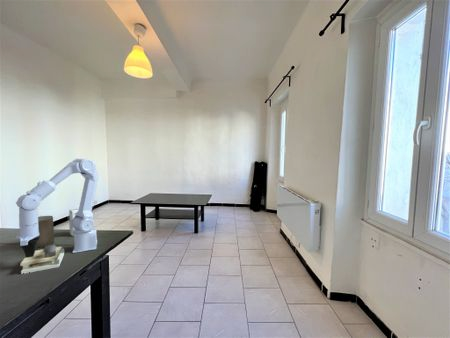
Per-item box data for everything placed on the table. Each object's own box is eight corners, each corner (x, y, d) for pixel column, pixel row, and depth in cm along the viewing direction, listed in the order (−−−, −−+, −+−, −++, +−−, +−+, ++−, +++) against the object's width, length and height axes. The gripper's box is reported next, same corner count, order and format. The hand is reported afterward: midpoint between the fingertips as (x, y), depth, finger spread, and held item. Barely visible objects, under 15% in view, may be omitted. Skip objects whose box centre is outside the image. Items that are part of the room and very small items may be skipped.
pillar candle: (59, 241, 114) (57, 213, 114) (41, 248, 105) (40, 218, 104) (42, 240, 115) (41, 212, 115) (23, 248, 106) (22, 218, 105)
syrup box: (81, 231, 129) (80, 207, 128) (84, 234, 125) (83, 209, 124) (69, 234, 124) (68, 209, 124) (72, 236, 121) (72, 211, 120)
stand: (64, 254, 99) (64, 248, 99) (58, 266, 88) (58, 260, 88) (31, 259, 94) (31, 253, 93) (21, 274, 82) (21, 267, 82)
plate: (62, 248, 98) (62, 237, 98) (57, 259, 88) (57, 247, 88) (30, 253, 93) (29, 242, 93) (20, 266, 82) (19, 253, 82)
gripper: (22, 220, 92) (23, 251, 93) (8, 230, 79) (10, 266, 80) (43, 218, 95) (44, 248, 96) (33, 228, 83) (34, 262, 83)
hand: (30, 256), depth 88 cm, fingers closed, pressing on plate
